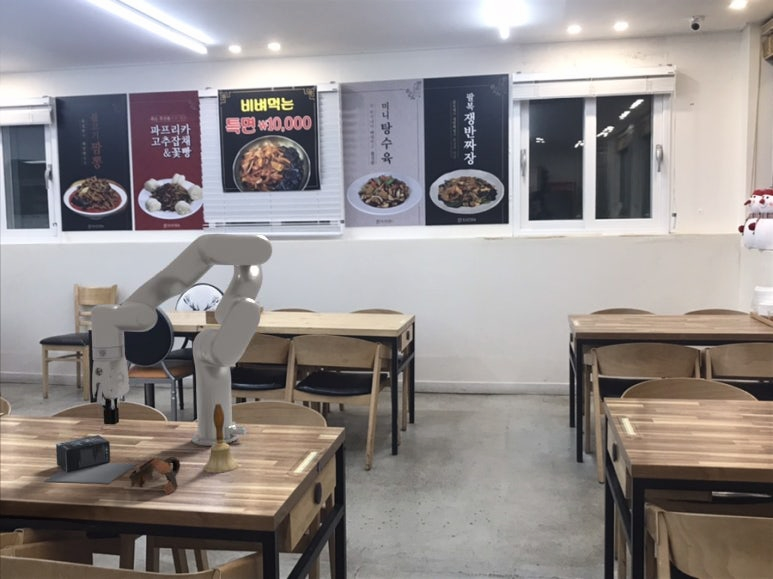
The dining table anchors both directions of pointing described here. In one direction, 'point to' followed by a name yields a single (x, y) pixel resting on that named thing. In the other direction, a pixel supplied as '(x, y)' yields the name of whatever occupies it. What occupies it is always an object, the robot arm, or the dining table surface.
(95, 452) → the box
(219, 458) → the hand bell
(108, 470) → the mat
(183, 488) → the dining table surface
